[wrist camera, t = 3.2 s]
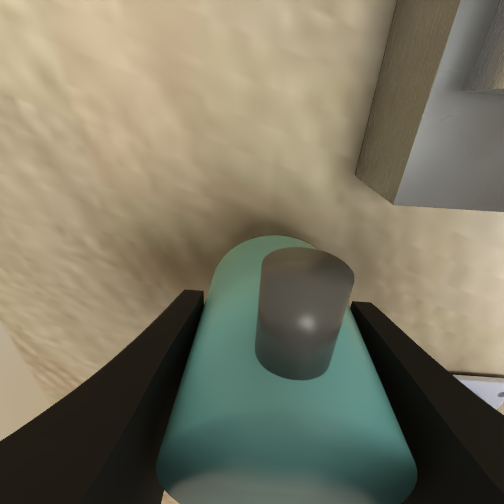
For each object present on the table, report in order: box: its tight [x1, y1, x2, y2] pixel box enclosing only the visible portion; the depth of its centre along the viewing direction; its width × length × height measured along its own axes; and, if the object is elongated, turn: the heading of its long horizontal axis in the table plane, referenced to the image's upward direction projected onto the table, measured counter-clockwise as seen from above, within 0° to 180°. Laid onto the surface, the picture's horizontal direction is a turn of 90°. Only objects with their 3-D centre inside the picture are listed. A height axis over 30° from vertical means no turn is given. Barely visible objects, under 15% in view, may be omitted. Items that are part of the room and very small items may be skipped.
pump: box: [156, 235, 417, 504], centre depth 7 cm, size 6×5×6 cm
